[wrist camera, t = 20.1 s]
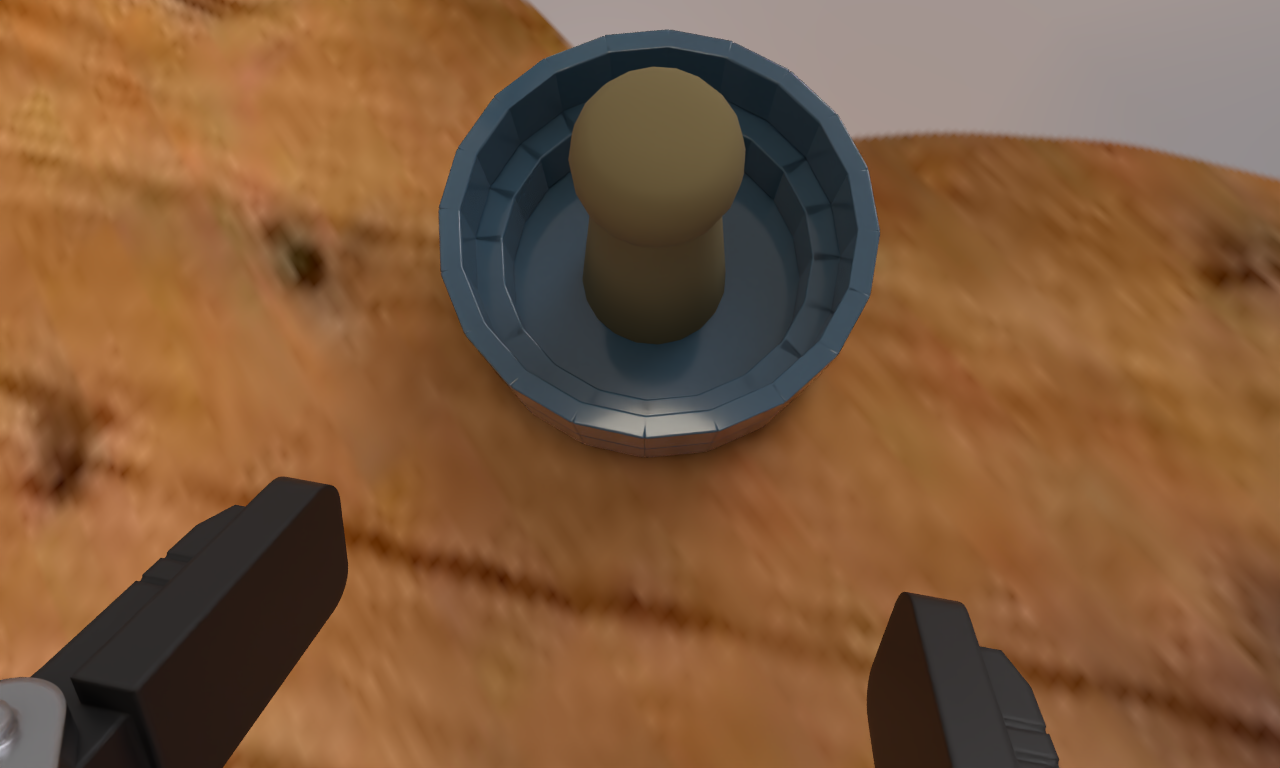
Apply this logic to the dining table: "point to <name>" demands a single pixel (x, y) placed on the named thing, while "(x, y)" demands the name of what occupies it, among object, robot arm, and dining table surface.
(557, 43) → the dining table surface
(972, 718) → the robot arm
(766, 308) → the glazed bowl
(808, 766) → the dining table surface
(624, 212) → the olive peg figure
